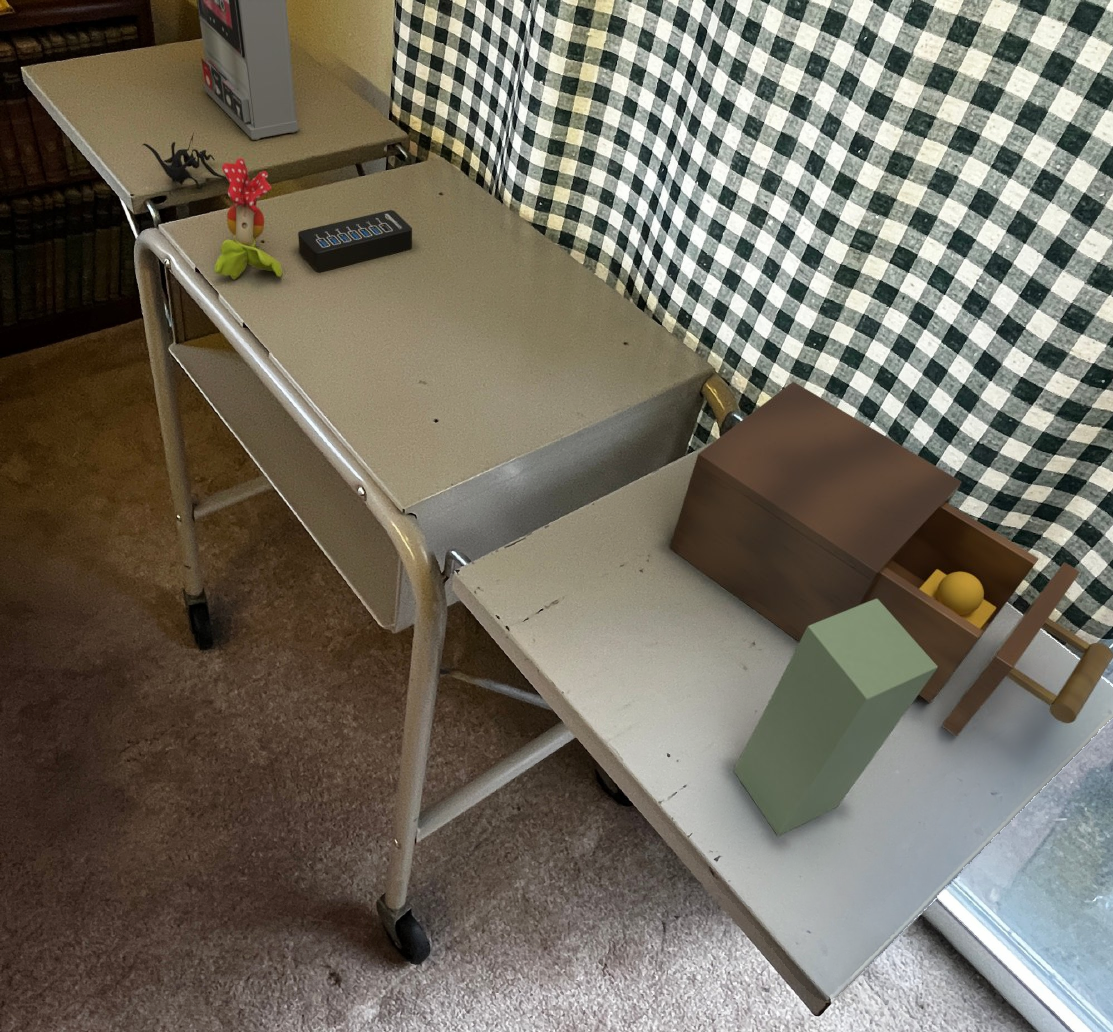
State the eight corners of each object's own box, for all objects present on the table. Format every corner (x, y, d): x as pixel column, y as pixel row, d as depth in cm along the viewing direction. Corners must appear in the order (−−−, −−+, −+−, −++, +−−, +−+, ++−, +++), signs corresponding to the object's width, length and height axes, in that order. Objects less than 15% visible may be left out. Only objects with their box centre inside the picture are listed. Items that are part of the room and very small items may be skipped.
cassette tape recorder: (203, 93, 119) (167, -143, 101) (250, 85, 122) (222, -146, 104) (250, 142, 112) (220, -103, 94) (298, 133, 115) (278, -106, 97)
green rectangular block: (838, 806, 62) (938, 666, 50) (777, 836, 60) (867, 699, 48) (792, 743, 65) (877, 597, 53) (732, 770, 63) (807, 625, 51)
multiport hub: (298, 251, 98) (296, 231, 96) (393, 228, 103) (393, 208, 101) (317, 273, 96) (315, 253, 94) (413, 248, 101) (413, 228, 99)
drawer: (1084, 681, 70) (1149, 612, 64) (1021, 783, 64) (1086, 716, 58) (868, 541, 77) (907, 467, 71) (792, 619, 71) (828, 544, 65)
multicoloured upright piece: (215, 271, 97) (216, 287, 89) (198, 155, 93) (197, 161, 85) (278, 268, 99) (285, 283, 91) (265, 154, 95) (270, 159, 87)
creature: (180, 166, 109) (137, 181, 102) (178, 117, 106) (133, 129, 99) (243, 183, 108) (203, 200, 101) (243, 134, 105) (201, 148, 98)
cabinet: (908, 571, 77) (962, 481, 70) (826, 662, 70) (877, 572, 62) (758, 473, 83) (793, 381, 75) (668, 548, 76) (697, 453, 68)
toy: (975, 637, 70) (1014, 583, 66) (948, 671, 68) (987, 617, 63) (917, 598, 72) (952, 543, 68) (889, 630, 70) (923, 575, 65)
